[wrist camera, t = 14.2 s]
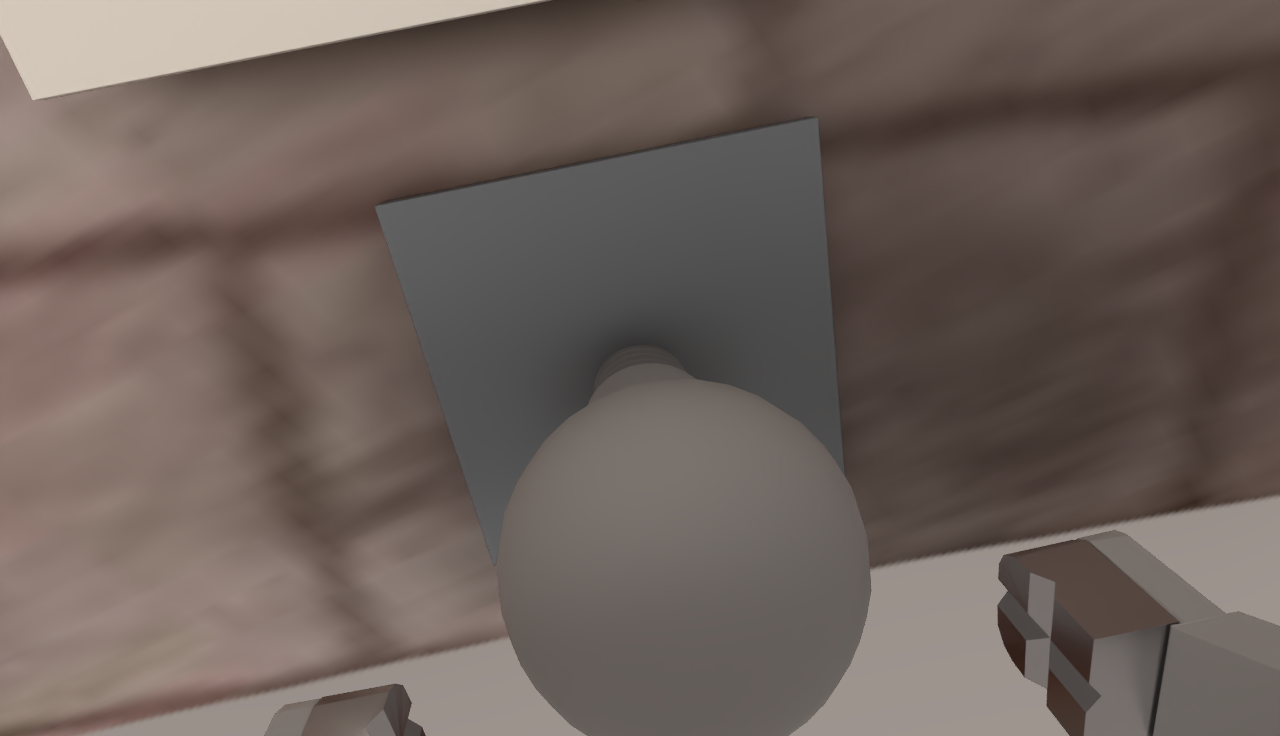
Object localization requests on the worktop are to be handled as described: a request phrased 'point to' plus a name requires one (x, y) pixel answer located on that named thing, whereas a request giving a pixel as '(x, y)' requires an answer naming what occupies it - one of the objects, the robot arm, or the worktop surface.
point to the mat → (619, 289)
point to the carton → (192, 34)
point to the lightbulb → (682, 560)
